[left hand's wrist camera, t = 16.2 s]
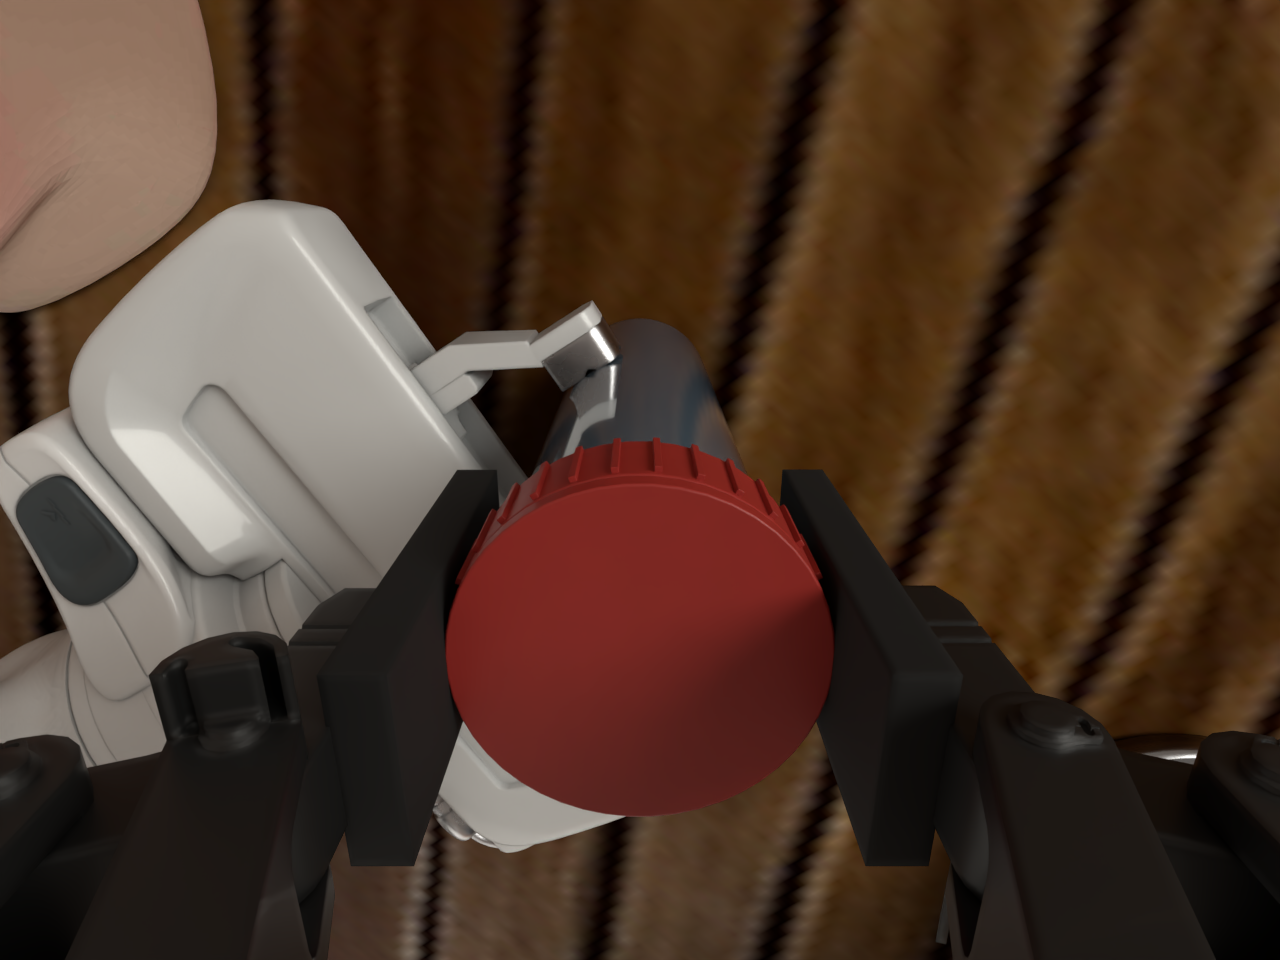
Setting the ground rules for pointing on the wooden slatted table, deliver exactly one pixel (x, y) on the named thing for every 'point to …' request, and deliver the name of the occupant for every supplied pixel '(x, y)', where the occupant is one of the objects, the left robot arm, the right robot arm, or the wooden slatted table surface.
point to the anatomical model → (97, 137)
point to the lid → (639, 631)
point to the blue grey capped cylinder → (643, 398)
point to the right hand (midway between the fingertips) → (666, 420)
